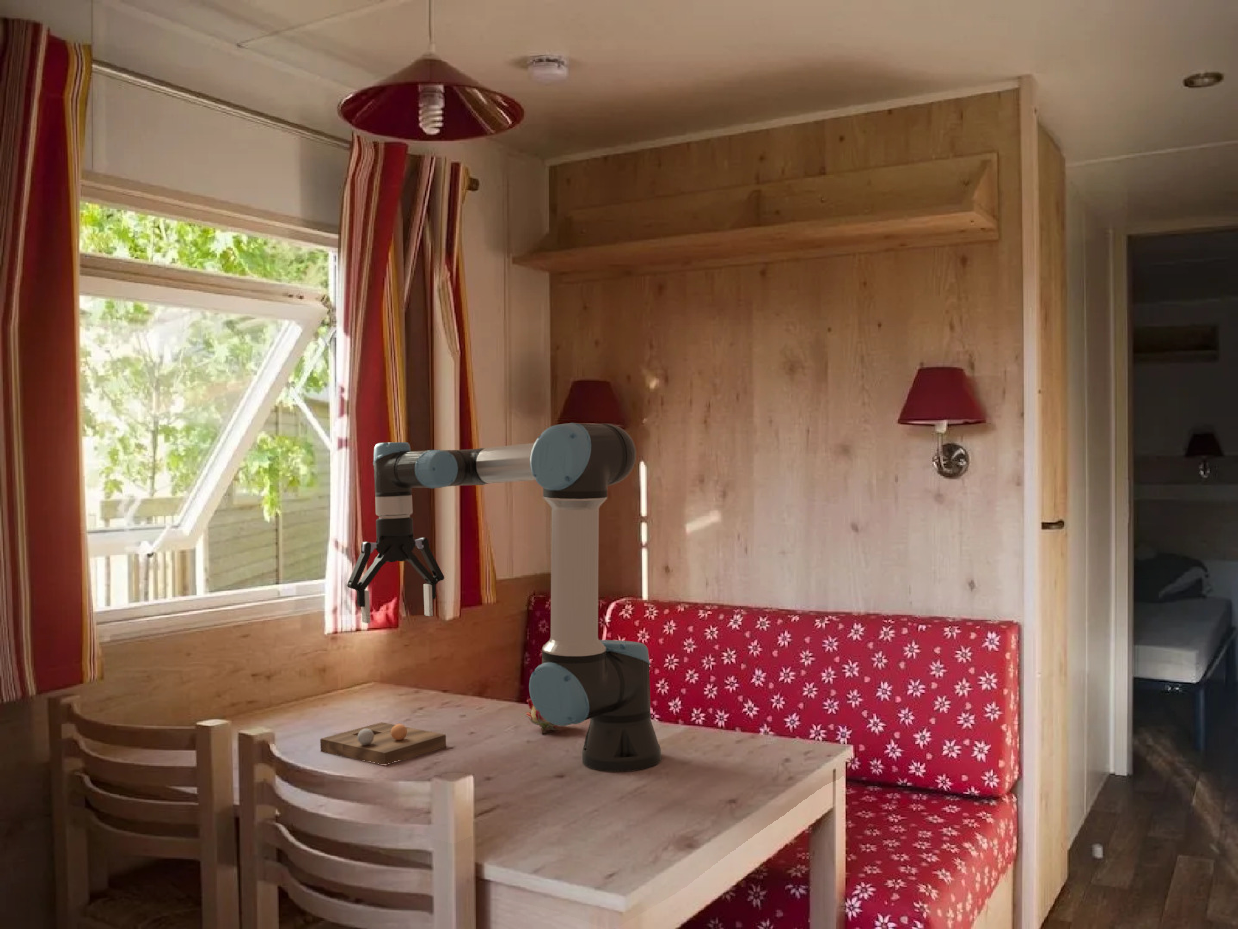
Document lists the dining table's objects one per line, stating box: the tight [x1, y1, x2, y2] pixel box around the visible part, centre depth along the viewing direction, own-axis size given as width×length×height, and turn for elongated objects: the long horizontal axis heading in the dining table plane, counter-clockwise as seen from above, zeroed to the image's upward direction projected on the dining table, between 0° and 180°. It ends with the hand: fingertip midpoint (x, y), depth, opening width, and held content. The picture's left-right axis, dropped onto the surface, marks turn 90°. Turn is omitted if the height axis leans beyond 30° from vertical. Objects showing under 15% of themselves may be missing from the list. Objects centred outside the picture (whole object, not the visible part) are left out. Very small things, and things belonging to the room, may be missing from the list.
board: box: [319, 721, 447, 765], centre depth 226 cm, size 20×16×2 cm
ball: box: [391, 723, 407, 740], centre depth 223 cm, size 3×3×3 cm
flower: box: [526, 698, 562, 735], centre depth 237 cm, size 10×9×8 cm
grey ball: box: [358, 729, 374, 745], centre depth 220 cm, size 3×3×3 cm
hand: (397, 619), depth 230 cm, fingers open, 13 cm apart
